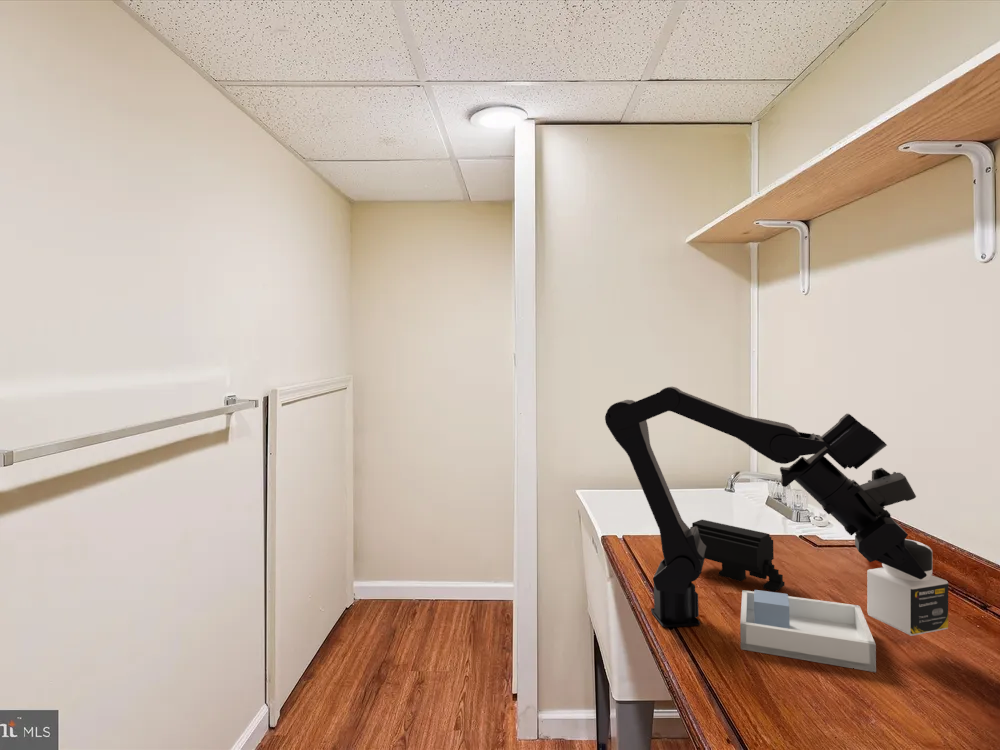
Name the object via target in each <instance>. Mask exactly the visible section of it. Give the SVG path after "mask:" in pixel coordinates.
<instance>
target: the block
mask: <svg viewBox="0 0 1000 750" xmlns="http://www.w3.org/2000/svg"><path fill="white" fill-rule="evenodd" d="M753 592H754V621H755V624H762V625H768V626H775V627H781V628H788V629H790V619H789V600H788V596H789V595H788V593H785V592H784V593H782V592H777V591H776V592H774V591H769V590H768V591H767V590H758V589H754V591H753Z"/></svg>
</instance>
